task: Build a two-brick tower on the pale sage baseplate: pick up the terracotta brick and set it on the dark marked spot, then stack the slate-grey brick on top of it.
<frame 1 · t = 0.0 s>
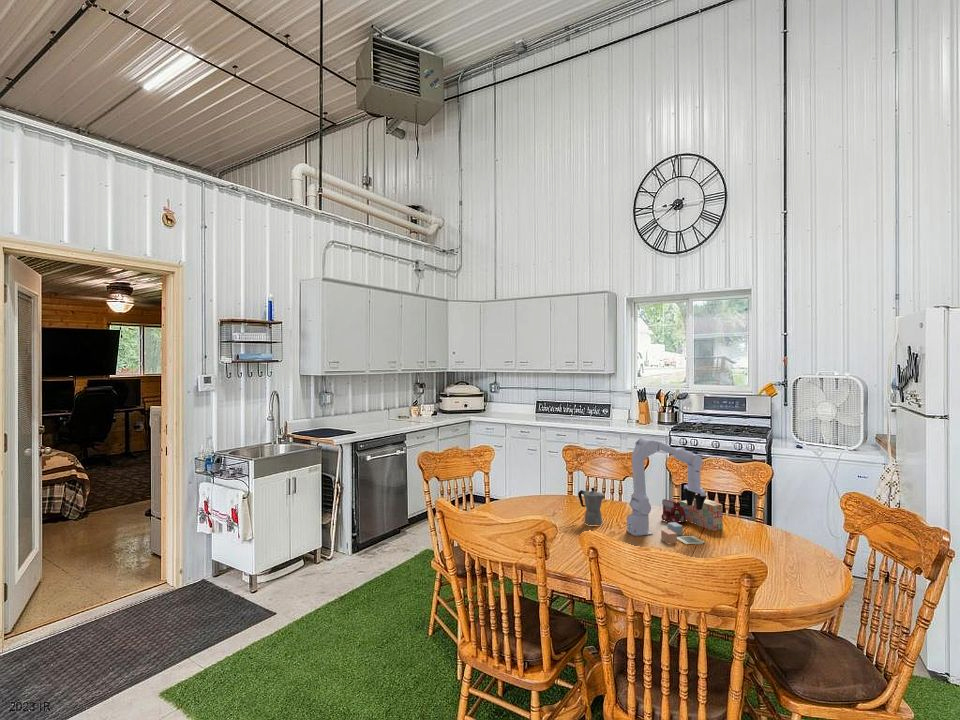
hand: (694, 507, 241), 10 cm above the table, tool pointing down, fingers open, 7 cm apart
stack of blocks: (700, 524, 248), on the table
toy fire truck: (673, 522, 252), on the table
slate brick: (675, 533, 235), on the table
coffeepot: (591, 523, 251), on the table
baseplate: (689, 541, 224), on the table
terracotta brick: (669, 541, 224), on the table
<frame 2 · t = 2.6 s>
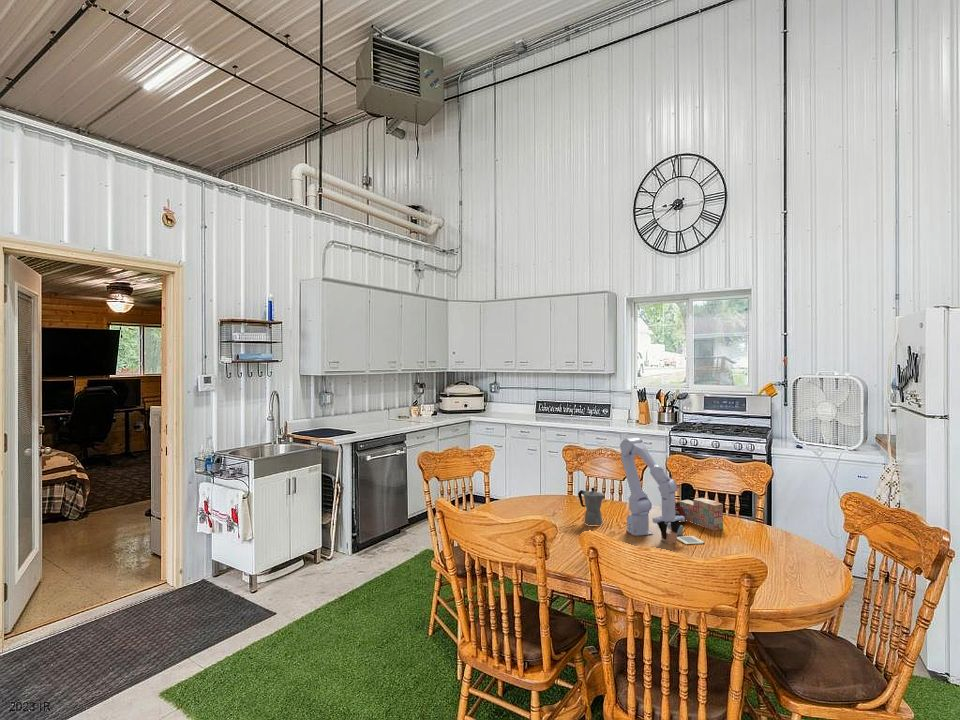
hand: (669, 538, 224), 1 cm above the table, tool pointing down, fingers closed on terracotta brick, 4 cm apart
terracotta brick: (669, 541, 224), on the table, touching gripper
when the fingers open (3 cm above the table, at t = 6.6 s): terracotta brick stays where it is, resting on baseplate.
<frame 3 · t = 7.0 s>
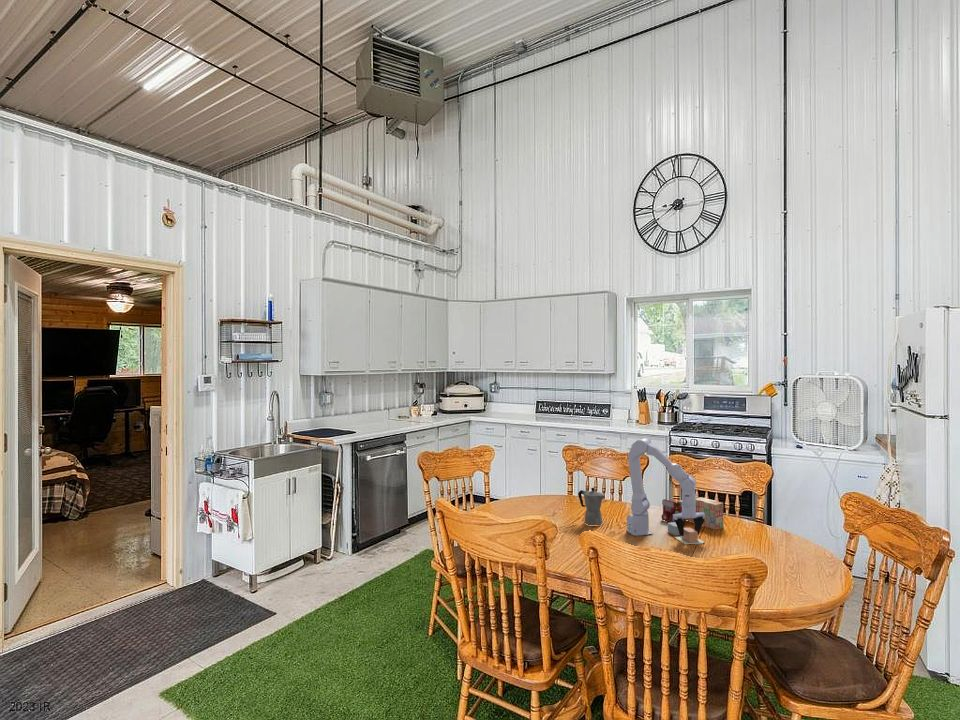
hand: (689, 534, 224), 3 cm above the table, tool pointing down, fingers open, 7 cm apart
terracotta brick: (689, 539, 224), point 1 cm above the table, touching baseplate
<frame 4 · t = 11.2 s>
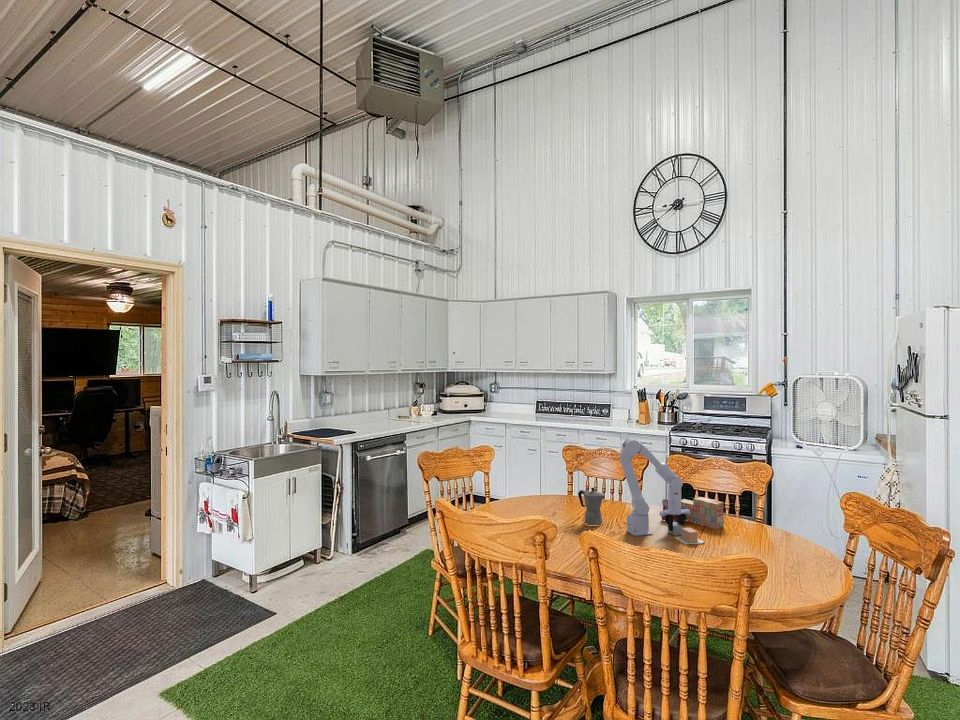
hand: (675, 530, 235), 1 cm above the table, tool pointing down, fingers closed on slate brick, 4 cm apart
slate brick: (675, 533, 235), on the table, touching gripper
when the fingers open (7 cm above the table, at t = 14.6 s): slate brick stays where it is, resting on terracotta brick.
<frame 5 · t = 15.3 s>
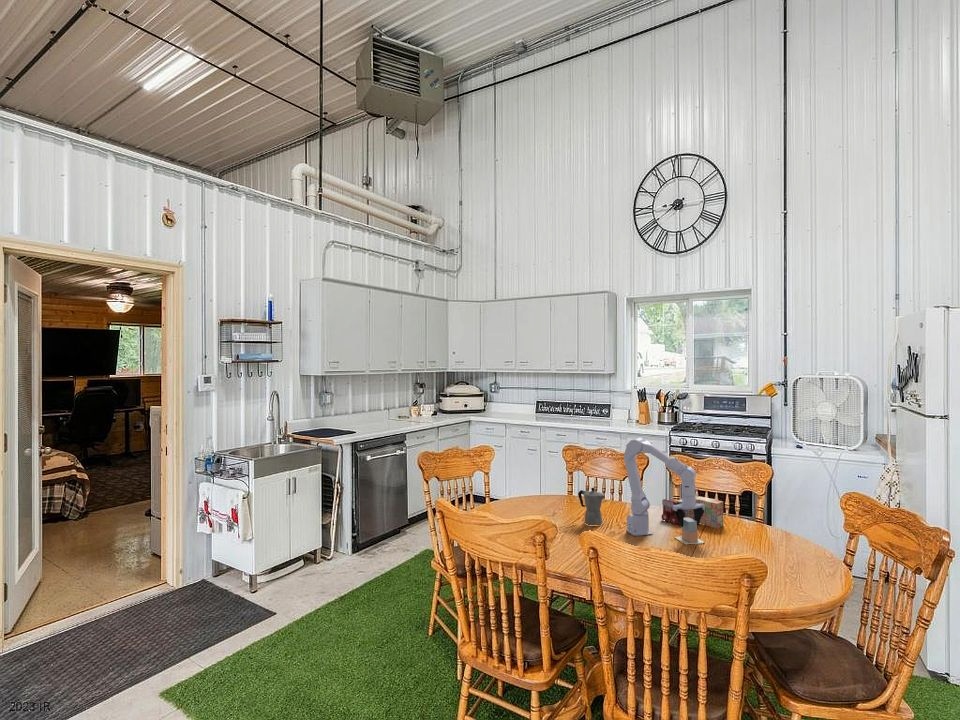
hand: (689, 525, 224), 7 cm above the table, tool pointing down, fingers open, 7 cm apart
slate brick: (688, 529, 225), point 5 cm above the table, touching terracotta brick
terracotta brick: (689, 539, 224), point 1 cm above the table, touching baseplate, slate brick
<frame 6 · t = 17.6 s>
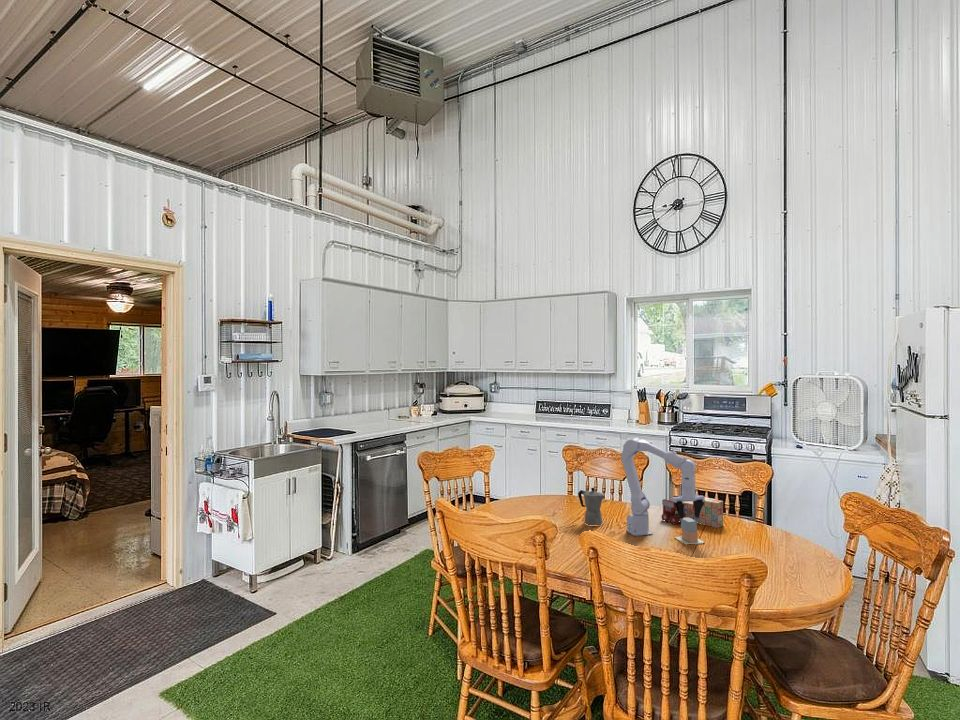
hand: (688, 517, 224), 10 cm above the table, tool pointing down, fingers open, 7 cm apart
at the end: terracotta brick 0.3 cm off-centre on the baseplate, point 0.6 cm above the baseplate's base; slate brick 0.6 cm off-centre on the terracotta brick, point 4.4 cm above the terracotta brick's base; slate brick tilted 0° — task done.
